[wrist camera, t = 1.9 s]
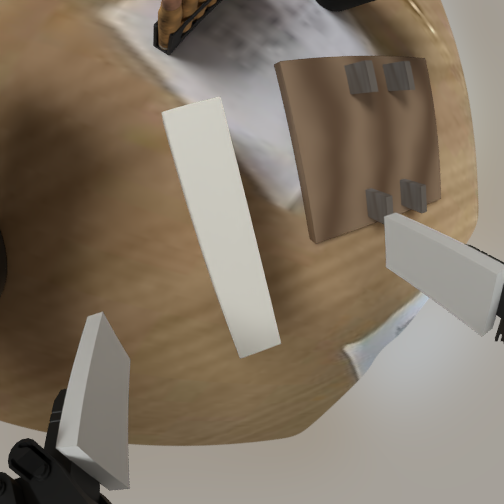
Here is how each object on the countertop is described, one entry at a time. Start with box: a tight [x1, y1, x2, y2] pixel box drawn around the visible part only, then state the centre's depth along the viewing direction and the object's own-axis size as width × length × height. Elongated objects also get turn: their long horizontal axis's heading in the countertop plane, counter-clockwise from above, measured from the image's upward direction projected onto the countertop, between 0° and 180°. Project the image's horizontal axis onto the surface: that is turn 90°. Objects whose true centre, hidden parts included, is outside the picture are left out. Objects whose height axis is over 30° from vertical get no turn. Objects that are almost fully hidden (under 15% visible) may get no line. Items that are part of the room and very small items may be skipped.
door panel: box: [162, 97, 281, 359], centre depth 22 cm, size 3×16×12 cm, turn 14°
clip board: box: [274, 56, 441, 243], centre depth 28 cm, size 19×18×5 cm
